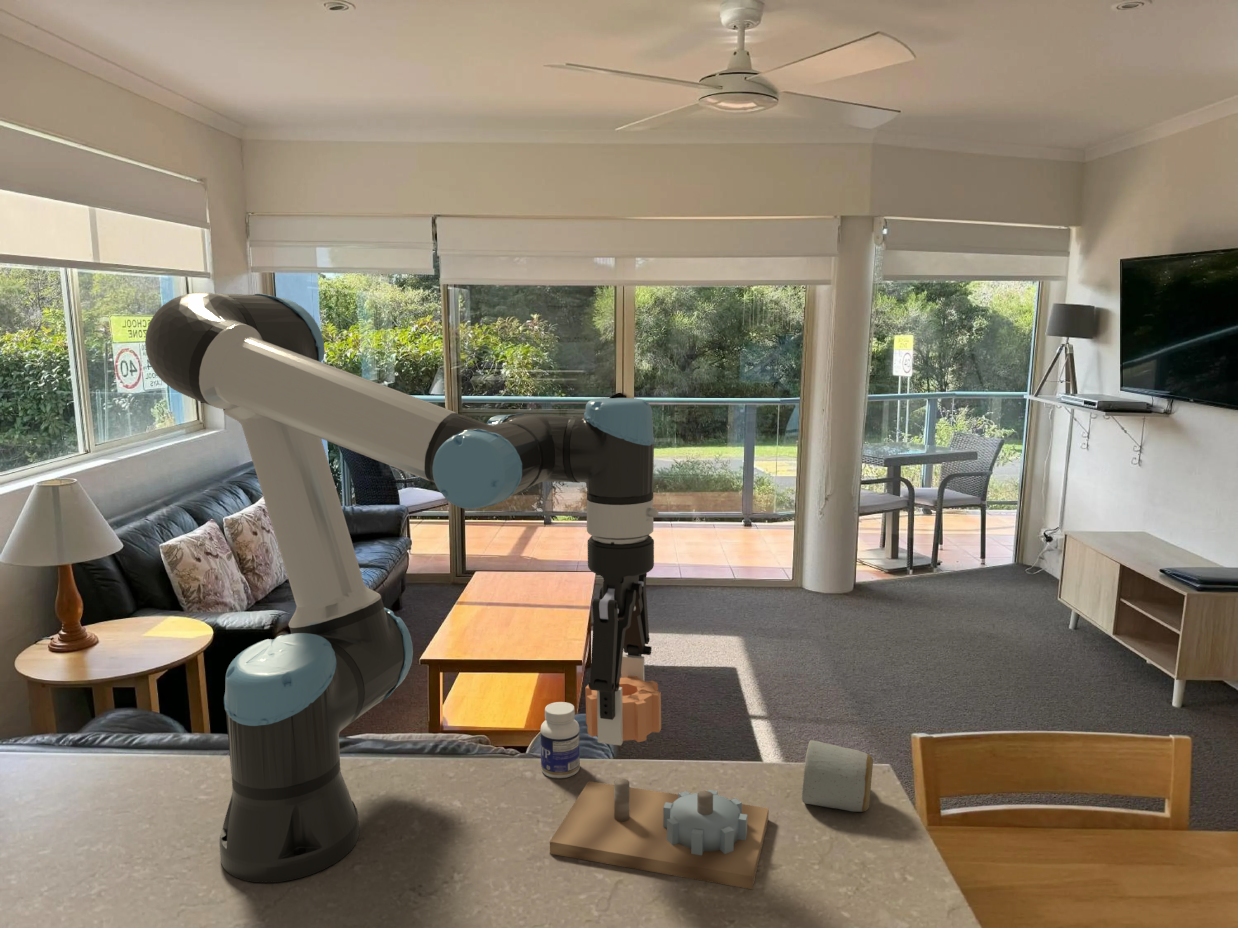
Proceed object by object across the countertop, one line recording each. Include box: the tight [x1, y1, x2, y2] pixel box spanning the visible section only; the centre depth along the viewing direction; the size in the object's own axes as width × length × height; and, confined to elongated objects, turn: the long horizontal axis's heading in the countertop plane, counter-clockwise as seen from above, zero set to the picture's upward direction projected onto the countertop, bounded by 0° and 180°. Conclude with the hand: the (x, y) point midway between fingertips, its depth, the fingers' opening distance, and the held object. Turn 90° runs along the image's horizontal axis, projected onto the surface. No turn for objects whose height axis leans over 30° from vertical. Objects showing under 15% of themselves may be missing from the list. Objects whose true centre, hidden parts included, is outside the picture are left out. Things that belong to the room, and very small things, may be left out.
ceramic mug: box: [801, 739, 874, 813], centre depth 112 cm, size 11×8×8 cm
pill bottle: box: [539, 701, 581, 779], centre depth 119 cm, size 5×5×9 cm
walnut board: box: [549, 778, 770, 890], centre depth 104 cm, size 23×14×6 cm, turn 74°
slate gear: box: [663, 789, 747, 855], centre depth 102 cm, size 10×10×2 cm
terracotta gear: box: [584, 675, 662, 743], centre depth 103 cm, size 9×9×4 cm
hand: (622, 723), depth 103 cm, fingers closed on terracotta gear, 9 cm apart
